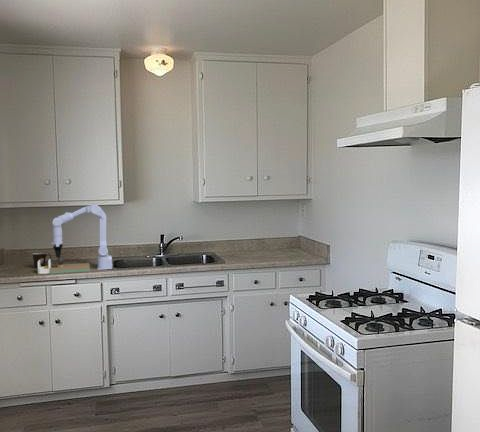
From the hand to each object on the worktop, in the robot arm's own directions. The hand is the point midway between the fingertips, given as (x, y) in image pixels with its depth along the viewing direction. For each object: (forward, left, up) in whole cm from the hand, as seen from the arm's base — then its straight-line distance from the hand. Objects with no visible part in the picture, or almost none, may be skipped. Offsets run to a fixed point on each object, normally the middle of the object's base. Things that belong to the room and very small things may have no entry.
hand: (58, 256), depth 333 cm
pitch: (-3, 0, -10) cm, 11 cm away
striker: (-1, 0, -8) cm, 8 cm away
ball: (+7, 0, -8) cm, 10 cm away
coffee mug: (+12, -20, -10) cm, 25 cm away
